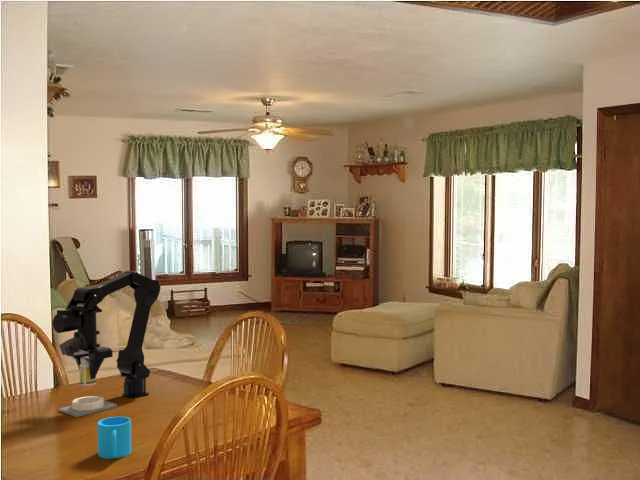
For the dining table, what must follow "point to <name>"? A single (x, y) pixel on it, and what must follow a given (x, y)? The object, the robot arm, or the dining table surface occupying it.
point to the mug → (114, 437)
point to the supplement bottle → (85, 373)
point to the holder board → (80, 413)
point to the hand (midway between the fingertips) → (88, 377)
